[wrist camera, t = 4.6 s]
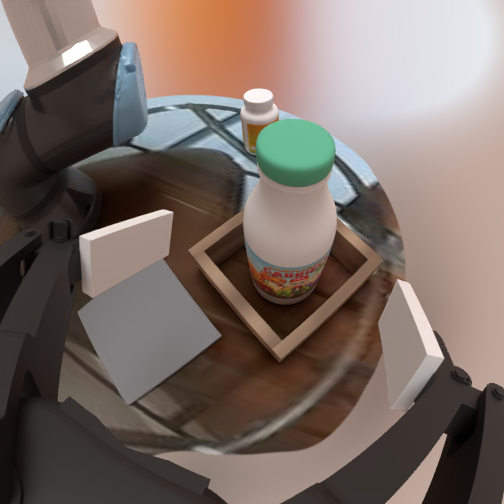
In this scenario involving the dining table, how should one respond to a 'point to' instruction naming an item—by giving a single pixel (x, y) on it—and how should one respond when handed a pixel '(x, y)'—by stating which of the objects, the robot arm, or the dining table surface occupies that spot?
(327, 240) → the milk bottle
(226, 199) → the dining table surface
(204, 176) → the dining table surface
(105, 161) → the dining table surface
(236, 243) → the walnut crate
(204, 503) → the robot arm
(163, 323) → the rubber mat
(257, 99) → the supplement bottle
